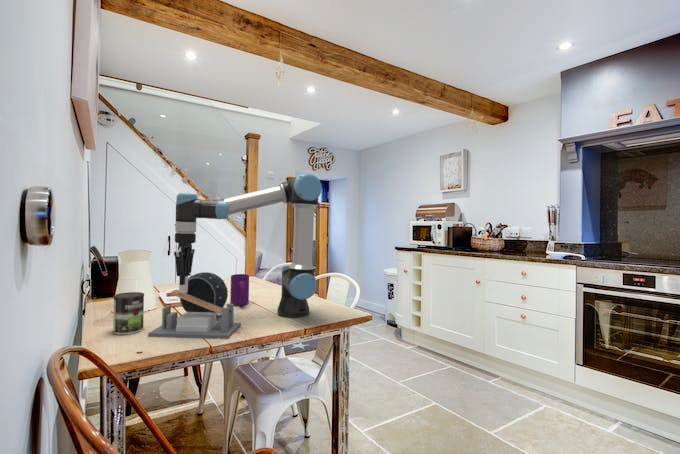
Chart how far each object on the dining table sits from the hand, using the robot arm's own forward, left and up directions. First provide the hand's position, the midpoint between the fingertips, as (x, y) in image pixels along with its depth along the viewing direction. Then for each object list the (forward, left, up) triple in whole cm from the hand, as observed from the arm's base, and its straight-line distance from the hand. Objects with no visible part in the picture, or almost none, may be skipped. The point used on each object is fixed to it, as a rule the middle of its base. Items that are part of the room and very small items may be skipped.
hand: (183, 292), depth 138 cm
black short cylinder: (-1, -19, -15) cm, 25 cm away
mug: (-11, -41, -15) cm, 45 cm away
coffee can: (+20, +2, -15) cm, 26 cm away
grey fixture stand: (-6, 0, -15) cm, 16 cm away
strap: (-7, 0, -5) cm, 9 cm away
